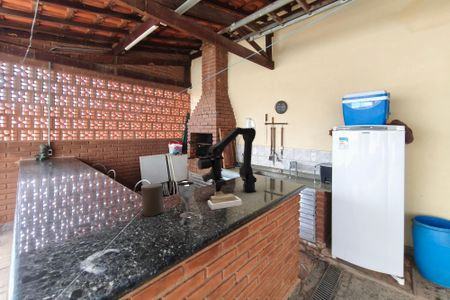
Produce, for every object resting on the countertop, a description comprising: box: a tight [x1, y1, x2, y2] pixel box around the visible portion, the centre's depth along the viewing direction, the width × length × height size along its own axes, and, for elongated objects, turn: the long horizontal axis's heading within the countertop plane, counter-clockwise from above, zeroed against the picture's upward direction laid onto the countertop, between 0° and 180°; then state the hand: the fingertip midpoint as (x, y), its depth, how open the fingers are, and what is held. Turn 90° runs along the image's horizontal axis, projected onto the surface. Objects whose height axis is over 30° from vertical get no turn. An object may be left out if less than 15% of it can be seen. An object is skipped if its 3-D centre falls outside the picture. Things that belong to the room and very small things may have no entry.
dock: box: [207, 195, 243, 211], centre depth 108 cm, size 16×8×2 cm, turn 108°
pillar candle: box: [140, 182, 165, 217], centre depth 101 cm, size 10×10×15 cm
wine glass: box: [176, 180, 196, 219], centre depth 96 cm, size 8×8×15 cm
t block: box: [210, 190, 236, 204], centre depth 114 cm, size 11×12×4 cm
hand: (217, 194), depth 120 cm, fingers closed
